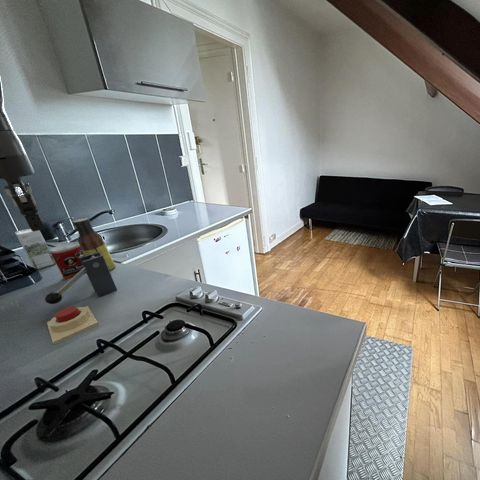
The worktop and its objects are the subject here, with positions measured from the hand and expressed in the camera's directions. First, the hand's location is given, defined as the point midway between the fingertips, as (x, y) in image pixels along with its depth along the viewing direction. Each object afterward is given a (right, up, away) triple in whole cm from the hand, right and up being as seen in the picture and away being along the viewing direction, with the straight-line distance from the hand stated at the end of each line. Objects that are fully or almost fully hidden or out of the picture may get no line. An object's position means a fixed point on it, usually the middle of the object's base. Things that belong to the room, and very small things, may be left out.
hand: (38, 229), depth 62 cm
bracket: (+4, -19, +15) cm, 25 cm away
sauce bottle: (-7, -14, +29) cm, 33 cm away
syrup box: (-38, -12, +38) cm, 55 cm away
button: (+7, -21, 0) cm, 22 cm away
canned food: (-17, -15, +29) cm, 36 cm away
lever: (+1, -14, +10) cm, 17 cm away
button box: (+7, -24, +2) cm, 26 cm away
